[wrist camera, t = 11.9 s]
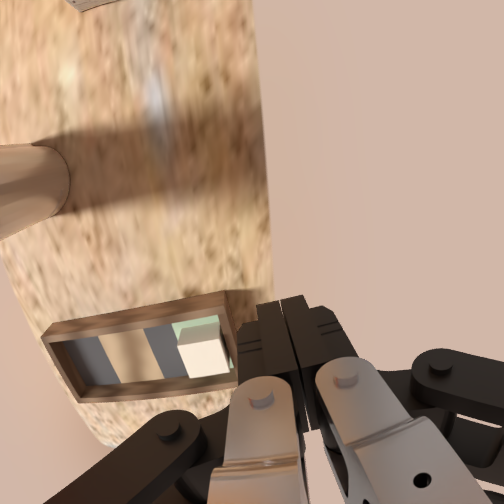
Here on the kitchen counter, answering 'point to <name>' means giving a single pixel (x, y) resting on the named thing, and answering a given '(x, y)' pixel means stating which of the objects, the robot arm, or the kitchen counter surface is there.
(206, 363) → the cream block
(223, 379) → the channel
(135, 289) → the kitchen counter surface
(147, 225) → the kitchen counter surface
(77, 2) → the supplement box
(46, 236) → the kitchen counter surface
